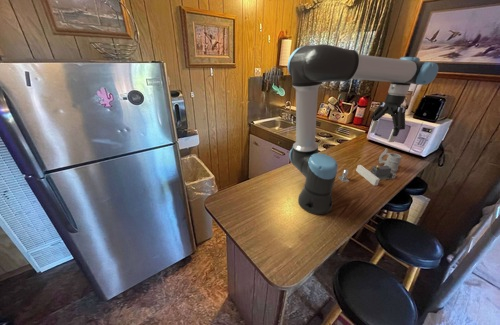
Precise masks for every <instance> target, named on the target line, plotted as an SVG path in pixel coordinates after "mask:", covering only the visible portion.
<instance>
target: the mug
mask: <svg viewBox="0 0 500 325" xmlns="http://www.w3.org/2000/svg"><path fill="white" fill-rule="evenodd" d="M386 155H387V157H386V160H384V156H386ZM402 158H403V157H402V155H401V154H398V153H396V152H389V149H388V148H385V149H384V151H383V152H382V153H381V154H380V155H379V158H378V163H379V164H380V165H381V164H383V165H382V166H389V167H390V168H392V169H391V171H392V172H394V173H396V172H397V171H399V165H400V164H401V160H402Z"/></svg>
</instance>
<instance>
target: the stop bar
mask: <svg viewBox="0 0 500 325" xmlns="http://www.w3.org/2000/svg"><path fill="white" fill-rule="evenodd" d="M391 169H392V168H390V167H389V166H383V165H379V164H376V165H374V166H372V167H371V170H370V171H371V172H372V173H374V174H375V175H376V177H377V178H388V176H389V174H390V171H391Z"/></svg>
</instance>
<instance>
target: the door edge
mask: <svg viewBox="0 0 500 325" xmlns="http://www.w3.org/2000/svg"><path fill="white" fill-rule="evenodd" d="M368 170H369V169H367V168H365V167H364V166H363V165H361V164H358V165H357V166H356V169H355V172H357V173H358V174H359V175H360V176H361V177H363V178H365V180H366V181H367V182H369V183H370V184H371V185H372V186H374V187H375V186H378V185H379V183H380V181H381V180H380V179H379V178H377V177H376V176H375V175H373V174H372V173H371V172H370V171H371V170H370V171H368Z"/></svg>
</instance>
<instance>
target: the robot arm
mask: <svg viewBox="0 0 500 325" xmlns="http://www.w3.org/2000/svg"><path fill="white" fill-rule="evenodd" d="M286 65H287V67H286V68H287V71H288V75H290V76H291V84H292V85H291V86H292V87H293V88H294V89H295V142H294V143H293V144H292V147H291V149H290V150H289V154H288V157H289V160H290V162H291V164H292V165H293V166H294V167H295V168H296V169H297V170H298V171H299V172H300V174H301V175H303V176H304V177H305V182H304V186H303V189H301V191H300V193H299V195H298V199H297V202H298V205H299V207H301V209H302V210H304V211H306V212H308V213H309V214H315V215H325V214H328V213H330V211H332V208H333V197H332V190H333V187H334V183H335V180H336V177H337V174H338V167H339V166H338V162H337V161H336V160H335V158H333V157H332V156H331V155H328V154H325V153H320V152H319V143H317V142H316V132H317V130H316V129H317V112H318V111H317V110H318V92H319V90H318V89H319V88H320V86H322V85H323V83H327V82H328V83H330V82H331V83H332V82H341V83H343V82H349V81H350V80H358V81H359V80H361V81H362V80H363V81H371V82H372V81H374V82H375V81H376V82H387V83H390V85H389V88H388V91H387V92H388V93H387V94H386V96H385V98H384V101H380V103H379V104H378V107H376V108H375V110H374V112H373V113H372V114H371V116H370V119H372V120H371V124H370V128H369V129H370V130H369V133H370V134H374V133H376V130H377V127H378V124H379V120H380V119H381V118H382V117H383V116H384V115H389V116H390V117H391V120H392V124H393V128H392V129H391V132H390V135H389V137H388V140H387V142H388V143H394V142H395V139H396V137H398V135H399V132H400V131H402V130H406V111H407V107H401V106H402V105H403V104H404V103H405V99H406V98H407V97H406V95H407V94H408V92H409V89H410V87H411V85H417V86H418V85H428V84H431V83H432V82H433V81H434V80H435V79H436V77H437V75H438V74H439V65H438V64H437V63H436V62H430V61H421V59H420V58H419V57H418V56H417V57H416V56H415V57H413V56H401V57H399V58H391V57H384V56H377V55H374V56H373V55H367V54H366V55H365V54H359V52H358V51H357V50H355V49H347V48H344V47H339V46H334V45H331V44H326V43H325V44H323V43H322V44H314V45H313V44H312V45H307V44H306V45H303V46H300V47H298V48H296V49H294V51H293V52H292V53H291V54H290V56H289V58H288V60H287V64H286Z"/></svg>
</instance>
